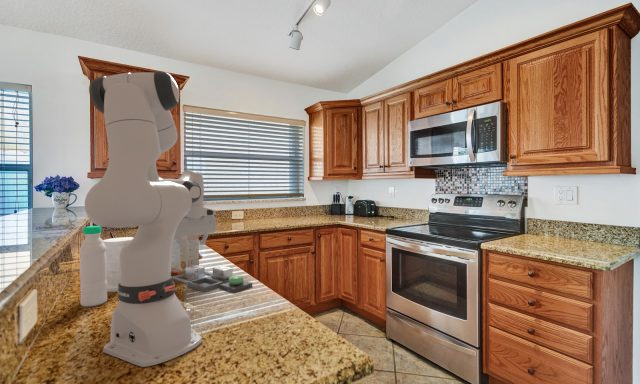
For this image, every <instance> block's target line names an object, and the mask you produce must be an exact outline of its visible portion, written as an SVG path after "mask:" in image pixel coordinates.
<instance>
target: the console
mask: <svg viewBox="0 0 640 384" xmlns="http://www.w3.org/2000/svg"><path fill="white" fill-rule="evenodd" d="M252 287H253V282H250V281H246V280H243V283H241V284H238V285H232V284H229V282H227V283H223V284H220V287H219V289H221V290H224V291H228V292H231V293H236V292H240V291H243V290H247V289H249V288H252Z"/></svg>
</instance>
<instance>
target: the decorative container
mask: <svg viewBox="0 0 640 384" xmlns="http://www.w3.org/2000/svg"><path fill="white" fill-rule="evenodd" d="M133 238H134V236H123V237H121V236H120V237H113V238H112V237H110V238H106V239H102V240H103V243H104V244H105V246H106V251H105V253H106V267H107V271H106V281H107V289H106V290H107V293H113V292H115V293H116V292H117V293H118V284H119V283H120V252H121V250H122V249H123V247H124V246H125V245H126V244H128V243H129V242H130V241H131V240H132V239H133Z"/></svg>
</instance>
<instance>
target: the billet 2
mask: <svg viewBox="0 0 640 384" xmlns="http://www.w3.org/2000/svg"><path fill="white" fill-rule="evenodd" d="M233 272H234V271H233V267H228V266H225V265H218V266H214V267H212V273H213V278H214V279H218V280H221V281H225V280H229V277H231V276H234V273H233Z"/></svg>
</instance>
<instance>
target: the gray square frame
mask: <svg viewBox="0 0 640 384" xmlns="http://www.w3.org/2000/svg"><path fill="white" fill-rule="evenodd" d="M205 275H207V276H211V275H213V272H210V271H206V270H205ZM184 277H186V273H185V274H177V275H173V276H172V278H173V281H174V280H175V281H177V282H178V281H179V282H180V283H184V284H186V285H187V282H189V280H186V279H184Z"/></svg>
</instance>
